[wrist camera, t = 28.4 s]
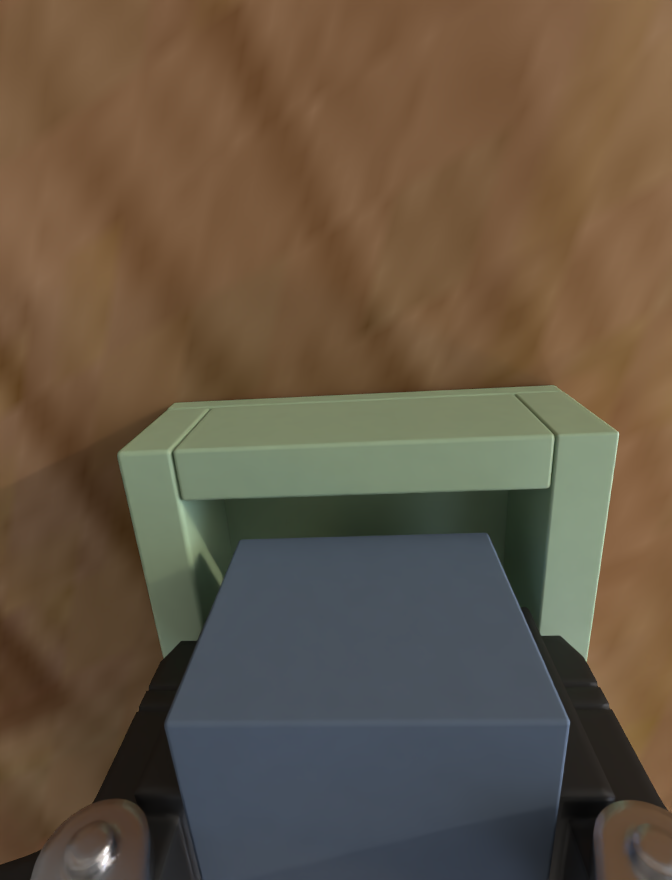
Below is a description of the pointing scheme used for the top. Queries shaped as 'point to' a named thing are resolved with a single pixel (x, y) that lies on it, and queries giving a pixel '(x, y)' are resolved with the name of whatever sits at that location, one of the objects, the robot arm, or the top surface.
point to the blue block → (368, 716)
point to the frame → (375, 489)
